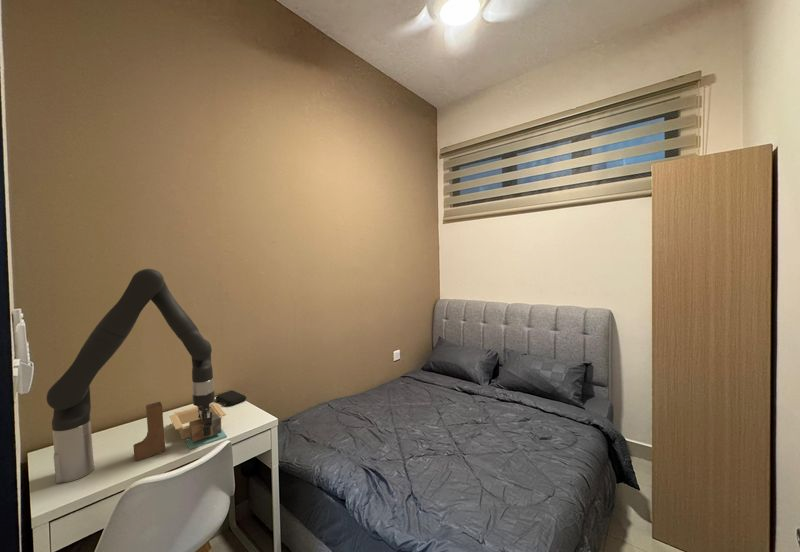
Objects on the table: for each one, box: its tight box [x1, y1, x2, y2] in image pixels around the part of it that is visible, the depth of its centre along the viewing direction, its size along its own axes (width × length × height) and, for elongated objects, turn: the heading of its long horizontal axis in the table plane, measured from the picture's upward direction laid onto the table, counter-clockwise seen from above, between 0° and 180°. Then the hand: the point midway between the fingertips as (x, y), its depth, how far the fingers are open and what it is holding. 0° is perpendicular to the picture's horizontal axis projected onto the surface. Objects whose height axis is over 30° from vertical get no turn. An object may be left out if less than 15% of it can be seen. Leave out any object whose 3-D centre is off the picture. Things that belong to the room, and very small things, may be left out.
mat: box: [185, 428, 228, 450], centre depth 137 cm, size 13×8×1 cm, turn 131°
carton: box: [169, 402, 227, 440], centre depth 147 cm, size 18×19×5 cm
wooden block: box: [133, 401, 166, 462], centre depth 127 cm, size 9×4×18 cm, turn 131°
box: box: [188, 414, 222, 442], centre depth 137 cm, size 10×5×6 cm, turn 131°
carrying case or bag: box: [215, 389, 247, 407], centre depth 173 cm, size 11×3×15 cm
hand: (205, 432), depth 137 cm, fingers closed on box, 5 cm apart
